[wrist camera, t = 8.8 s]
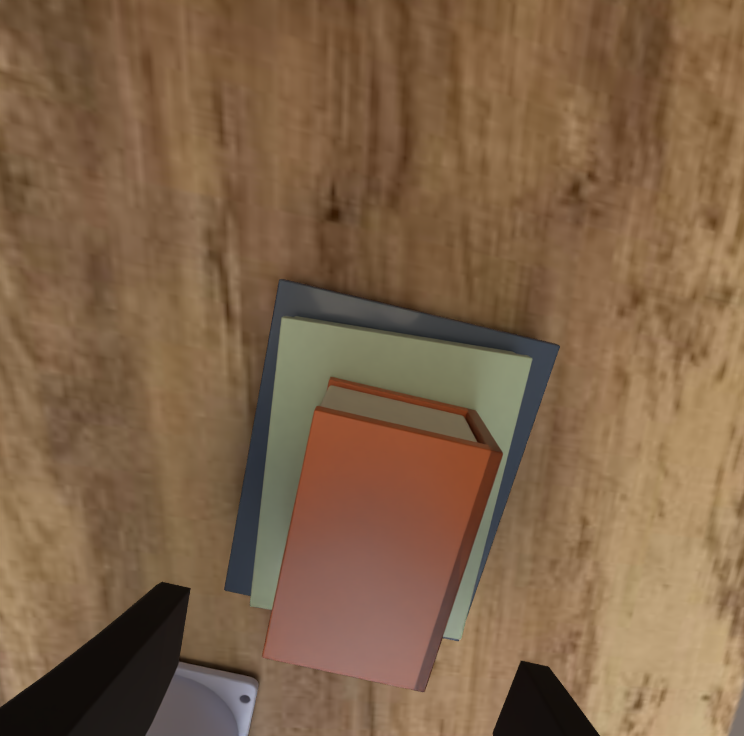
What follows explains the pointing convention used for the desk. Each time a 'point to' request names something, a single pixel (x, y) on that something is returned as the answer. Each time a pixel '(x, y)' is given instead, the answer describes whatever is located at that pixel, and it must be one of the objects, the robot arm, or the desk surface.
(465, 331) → the box stack
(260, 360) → the desk surface
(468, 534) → the book
